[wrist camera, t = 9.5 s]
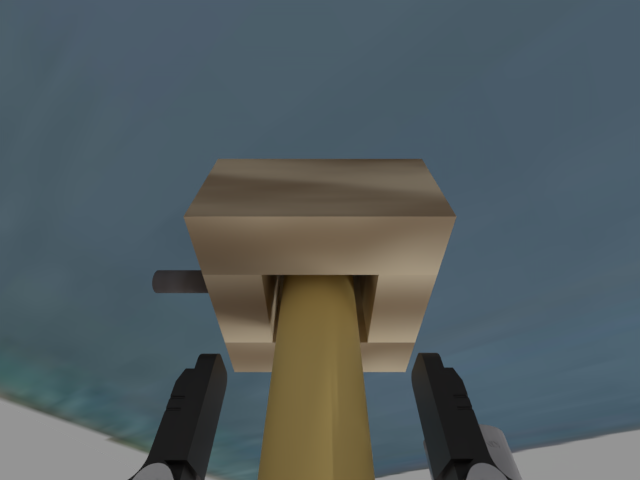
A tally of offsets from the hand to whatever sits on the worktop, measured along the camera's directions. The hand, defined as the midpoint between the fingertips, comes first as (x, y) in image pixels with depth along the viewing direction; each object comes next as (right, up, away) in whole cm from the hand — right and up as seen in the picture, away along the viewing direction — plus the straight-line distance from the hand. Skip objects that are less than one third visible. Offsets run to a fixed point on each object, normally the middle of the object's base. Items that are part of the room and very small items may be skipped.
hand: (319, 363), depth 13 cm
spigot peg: (0, +5, +6) cm, 8 cm away
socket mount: (-2, +5, +6) cm, 8 cm away
